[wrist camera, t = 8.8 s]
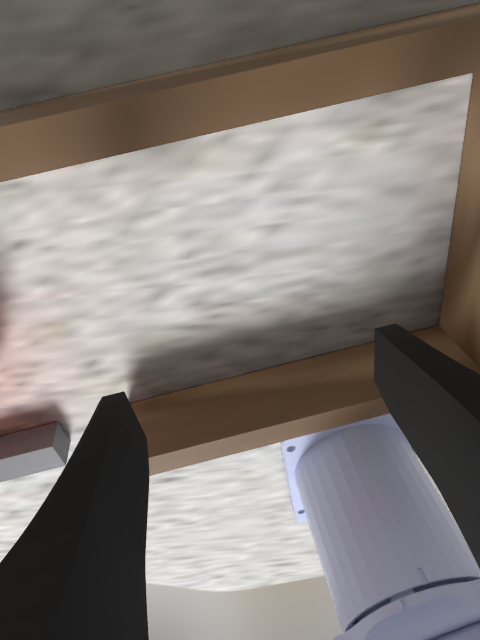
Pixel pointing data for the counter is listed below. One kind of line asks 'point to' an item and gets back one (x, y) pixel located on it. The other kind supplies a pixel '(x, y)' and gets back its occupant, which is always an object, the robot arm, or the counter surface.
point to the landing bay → (33, 451)
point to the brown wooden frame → (252, 107)
